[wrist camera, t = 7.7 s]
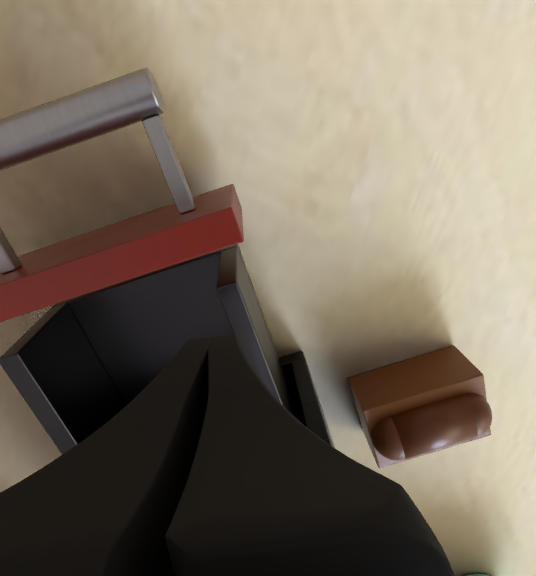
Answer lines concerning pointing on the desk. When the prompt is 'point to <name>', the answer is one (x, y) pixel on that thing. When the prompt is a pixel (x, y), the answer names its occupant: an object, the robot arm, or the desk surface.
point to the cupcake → (478, 575)
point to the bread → (421, 405)
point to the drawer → (123, 276)
